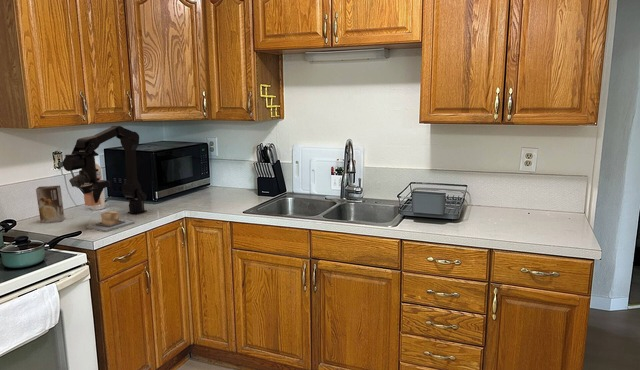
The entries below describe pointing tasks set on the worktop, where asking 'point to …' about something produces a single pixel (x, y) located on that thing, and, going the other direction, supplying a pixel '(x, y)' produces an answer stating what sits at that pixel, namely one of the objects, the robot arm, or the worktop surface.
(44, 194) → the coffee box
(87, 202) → the terracotta block
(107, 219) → the oak cube
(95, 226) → the grey flat square plate
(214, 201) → the worktop surface
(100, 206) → the water bottle
